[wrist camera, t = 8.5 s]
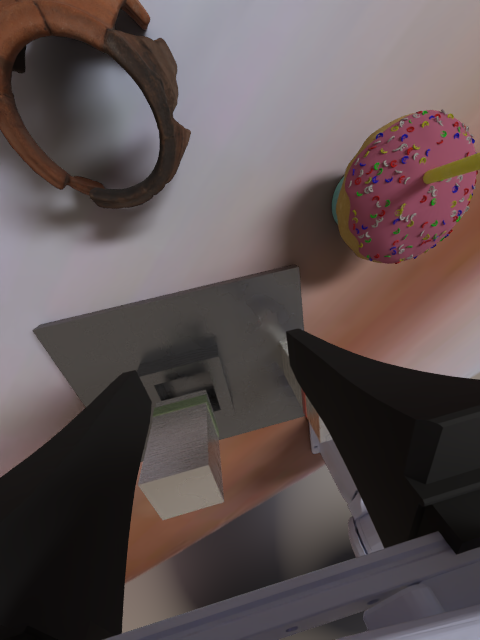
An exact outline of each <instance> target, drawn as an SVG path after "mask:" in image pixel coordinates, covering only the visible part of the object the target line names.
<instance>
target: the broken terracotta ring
mask: <svg viewBox="0 0 480 640" xmlns="http://www.w3.org/2000/svg"><path fill="white" fill-rule="evenodd" d="M120 9H122V10H123V11H124V12H126V13H127V14H128V15H129V16H130V17H131V18H132V19H133V20H134V21H135V22H136V23H137V24H138V25H139V26H140V27H141V28H142V29H143V30H146V29H147V26H148V24H149V22H150V17H149V15H148V13H147V12H146V10H145V9H144V7H143V6H142V5H141V3H140V2H139V1H138V0H0V130H1V131H2V133H3V135H4V136H5V138H6V139H7V140H8V142H9V144H10V145H11V146H12V148H13V149H14V150H15V151H16V152H17V153H18V154H19V155H20V157H21V158H22V159H23V160H24V161H25V162H26V163H27V164H28V165H29V166H30V167H31V168H32V169H33V170H34V171H35V172H36V173H37V174H38V175H40V176H41V177H42V178H44V179H45V180H46V181H47V182H49V183H50V184H52V185H53V186H55V187H56V188H58V189H60V190H62V189H63V188H64V187H65V186H66V185H69V186H71V187H72V188H74V189H76V190H78V191H80V192H82V193H84V194H86V195H89V196H90V198H91V199H92V200H93V201H94V202H95V203H96V204H97V205H98V206H99V207H103V208H112V209H119V208H129V207H134V206H138V205H141V204H143V203H145V202H147V201H148V200H150V199H151V198H152V197H153V195H156V194H158V193H159V192H160V191H161V190H162V189H163V188H164V186H165V184H166V183H168V182H170V181H171V180H172V179H173V177H174V175H175V174H176V172H177V169H178V167H179V164H180V161H181V159H182V156H183V154H184V152H185V149H186V147H187V145H188V142H189V138H190V134H191V131H190V130H188V129H185V128H184V127H183V126H182V125H180V124H179V123H178V122H177V121H175V119H174V118H173V111H174V109H175V107H176V105H177V99H178V86H177V82H176V74H177V64H176V62H175V60H174V58H173V55H172V53H171V51H170V49H169V47H168V46H167V44H166V42H165V41H164V40H163V39H162V38H158V39H157V40H154V41H153V40H152V39H150V38H148V37H145V36H135V35H132V34H129V33H124V32H122V31H119V30H115V23H116V20H117V17H118V13H119V10H120ZM46 36H58V37H68V38H72V39H76V40H79V41H82V42H84V43H87V44H89V45H91V46H92V47H94V48H96V49H97V50H99V51H101V52H103V53H105V54H108V55H109V56H110V57H111V58H113V59H114V60H115V61H116V62H117V63H118V64H119V65H120V66H121V67H122V68H123V69H124V70H125V71H126V72H127V73H128V74H129V75H130V76H131V77H132V79H133V80H134V81H135V82H136V84H137V85H138V86H139V88H140V89H141V91H142V92H143V94H144V96H145V98H146V99H147V101H148V103H149V105H150V107H151V109H152V112H153V114H154V117H155V120H156V123H157V127H158V129H159V138H160V150H159V157H158V160H157V163H156V165H155V167H154V170H153V171H152V173H151V174H150V175H149V177H148V178H147V179H145V180H144V181H143V182H141V183H139V184H137V185H135V186H133V187H130V188H127V189H105V188H104V186H103V185H102V184H101V183H99V182H97V181H93V180H90V179H87V178H84V177H79V176H74V177H72V176H71V175H69V174H68V173H67V172H66V171H65V170H63V169H62V168H61V167H59V166H58V165H57V164H56V163H55V162H54V161H52V160H51V159H50V158H49V157H48V156H47V155H46V154H45V153H44V152H43V150H42V149H41V148H40V147H39V146H38V145H37V143H36V142H35V141H34V139H33V138H32V137H31V135H30V134H29V132H28V131H27V129H26V127H25V125H24V123H23V121H22V119H21V117H20V115H19V113H18V111H17V108H16V104H15V100H14V95H13V93H12V90H11V76H12V71H15V72H18V73H25V50H26V45H27V44H28V43H30V42H31V41H33V40H36V39H38V38H41V37H46Z"/></svg>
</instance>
